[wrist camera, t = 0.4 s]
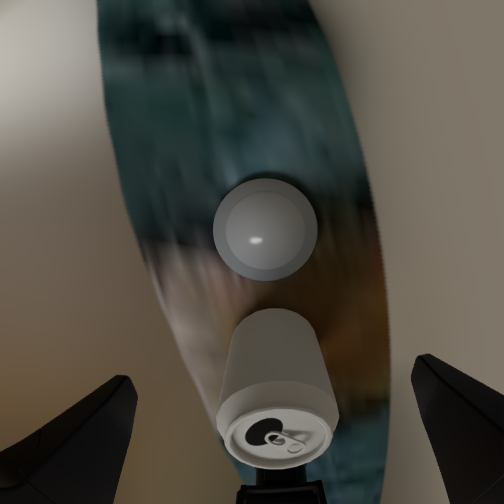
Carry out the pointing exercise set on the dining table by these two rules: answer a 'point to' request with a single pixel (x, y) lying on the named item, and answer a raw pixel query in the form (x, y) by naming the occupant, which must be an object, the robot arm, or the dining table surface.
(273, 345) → the can
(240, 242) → the coaster
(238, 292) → the dining table surface
